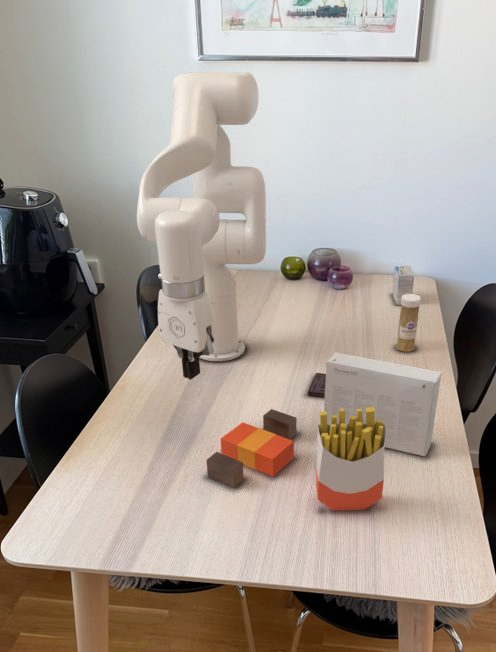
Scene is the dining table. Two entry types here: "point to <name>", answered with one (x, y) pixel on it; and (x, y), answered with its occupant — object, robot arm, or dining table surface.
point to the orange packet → (258, 448)
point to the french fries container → (350, 461)
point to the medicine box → (402, 282)
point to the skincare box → (385, 398)
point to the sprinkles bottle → (408, 322)
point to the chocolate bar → (318, 385)
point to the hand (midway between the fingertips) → (192, 375)
